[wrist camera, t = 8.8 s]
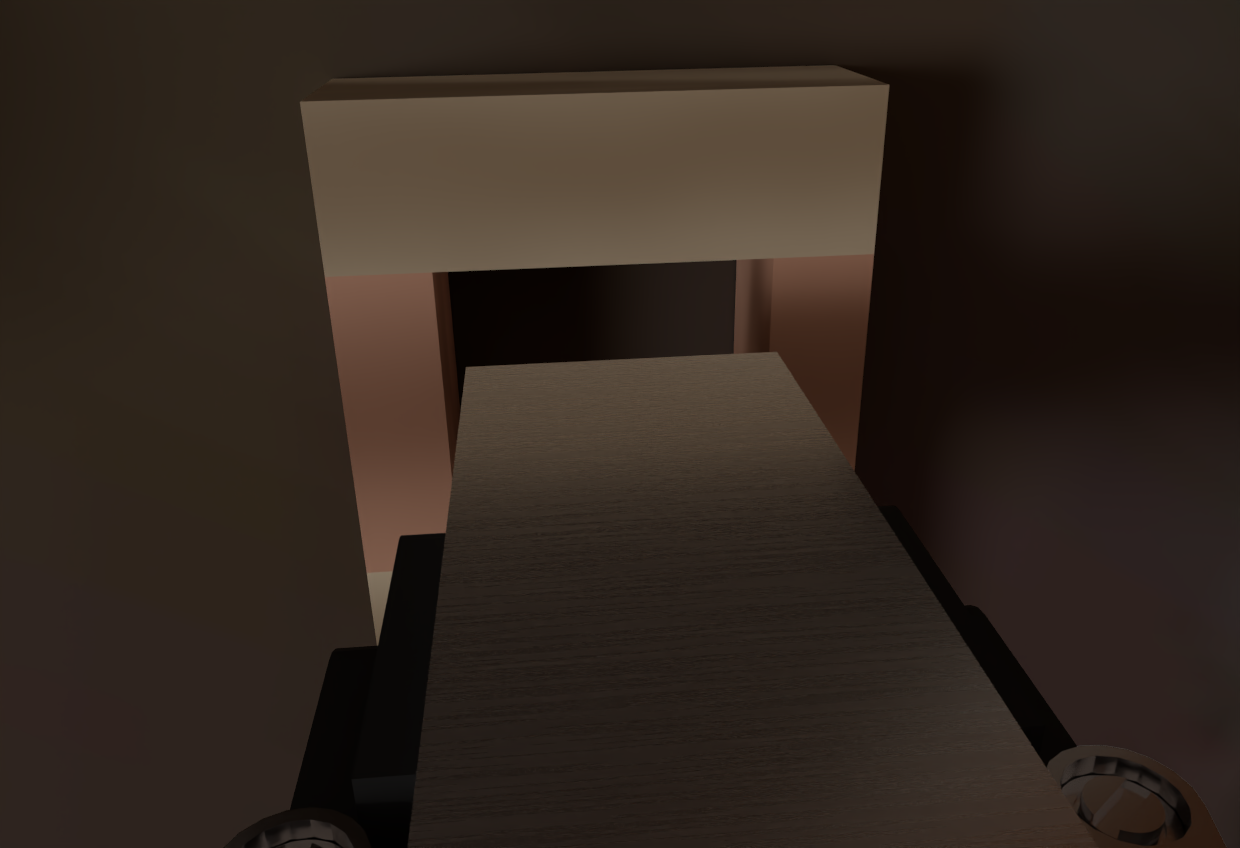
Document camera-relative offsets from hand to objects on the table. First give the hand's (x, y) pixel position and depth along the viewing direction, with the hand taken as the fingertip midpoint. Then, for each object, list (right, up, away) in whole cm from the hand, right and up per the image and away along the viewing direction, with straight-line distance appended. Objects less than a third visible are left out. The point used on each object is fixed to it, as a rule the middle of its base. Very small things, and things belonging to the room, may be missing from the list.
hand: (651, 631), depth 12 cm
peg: (0, +1, +3) cm, 3 cm away
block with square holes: (-1, -1, +11) cm, 11 cm away
